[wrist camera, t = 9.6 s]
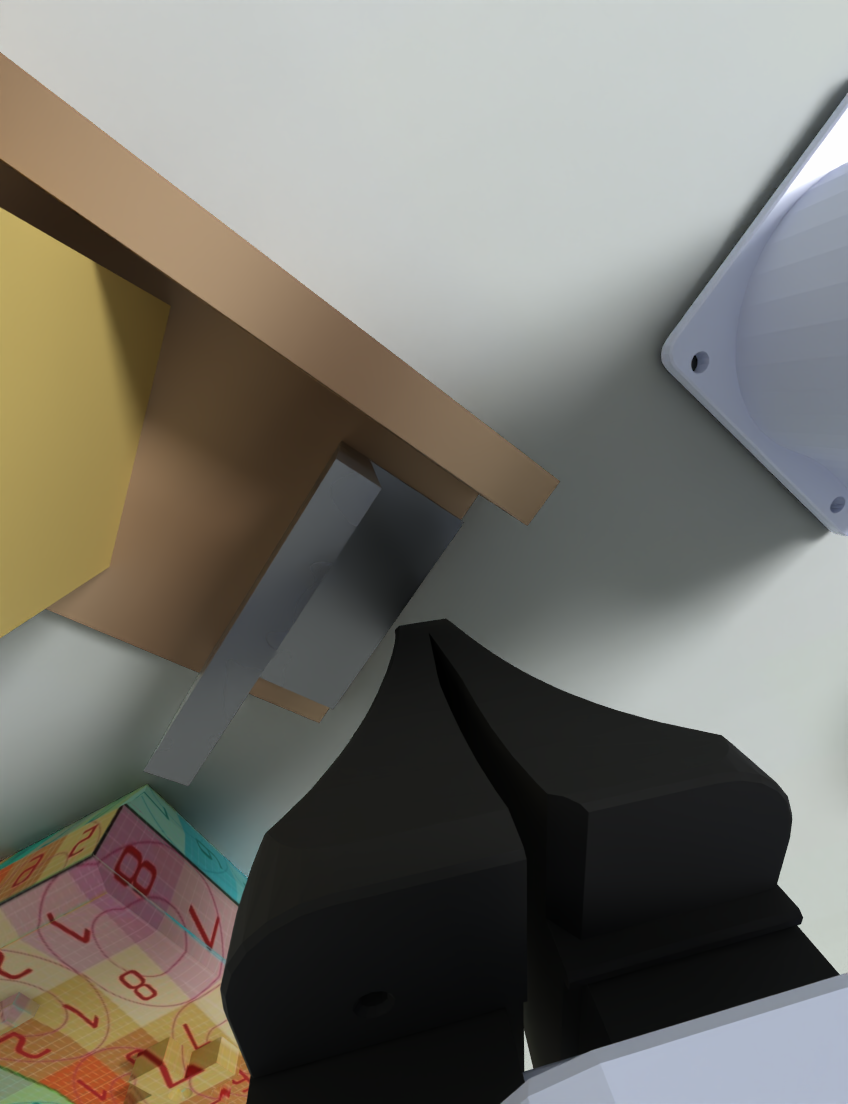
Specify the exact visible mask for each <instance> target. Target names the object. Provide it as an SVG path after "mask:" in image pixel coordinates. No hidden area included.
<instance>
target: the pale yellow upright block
mask: <svg viewBox="0 0 848 1104" xmlns="http://www.w3.org/2000/svg"><path fill="white" fill-rule="evenodd" d="M170 308H171V306H170V305H168V304H167V303H165V302H163V301H161V300H160V299H158V298H156V297H154V296H153V295H151V294H149V293H148V292H146V291H144V290H142V289H141V288H139V287H137V286H135V285H134V284H132V283H130V282H129V281H127V280H125V279H123V278H122V277H120V276H118V275H116V274H115V273H113V272H111V271H110V270H108V269H106V268H104V267H103V266H101V265H99V264H97V263H96V262H94V261H92V260H90V259H89V258H87V257H85V256H84V255H82V254H80V253H78V252H77V251H75V250H73V249H71V248H70V247H68V246H66V245H65V244H63V243H61V242H59V241H58V240H56V239H54V238H52V237H51V236H49V235H47V234H46V233H44V232H42V231H40V230H39V229H37V228H35V227H33V226H32V225H30V224H28V223H27V222H25V221H23V220H21V219H20V218H18V217H16V216H14V215H13V214H11V213H9V212H7V211H6V210H4V209H2V208H1V207H0V638H1V637H3V636H4V635H6V634H7V633H9V632H10V631H12V630H14V629H15V628H17V627H18V626H20V625H21V624H23V623H24V622H26V621H27V620H29V619H30V618H32V617H33V616H35V615H36V614H38V613H40V612H41V611H43V610H44V609H46V608H47V607H49V606H50V605H52V604H53V603H55V602H56V601H58V600H59V599H61V598H62V597H64V596H66V595H67V594H69V593H70V592H72V591H73V590H75V589H76V588H78V587H79V586H81V585H82V584H84V583H85V582H87V581H88V580H90V579H92V578H93V577H95V576H96V575H98V574H99V573H101V572H102V571H104V570H105V569H107V568H108V567H109V566H110V562H111V558H112V553H113V549H114V545H115V541H116V536H117V532H118V528H119V524H120V519H121V515H122V511H123V507H124V502H125V498H126V494H127V490H128V486H129V481H130V477H131V473H132V469H133V464H134V460H135V456H136V452H137V447H138V443H139V439H140V435H141V431H142V426H143V422H144V418H145V414H146V409H147V405H148V401H149V397H150V392H151V388H152V384H153V380H154V375H155V371H156V367H157V363H158V359H159V354H160V350H161V346H162V342H163V337H164V333H165V329H166V325H167V320H168V316H169V312H170Z"/></svg>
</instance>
